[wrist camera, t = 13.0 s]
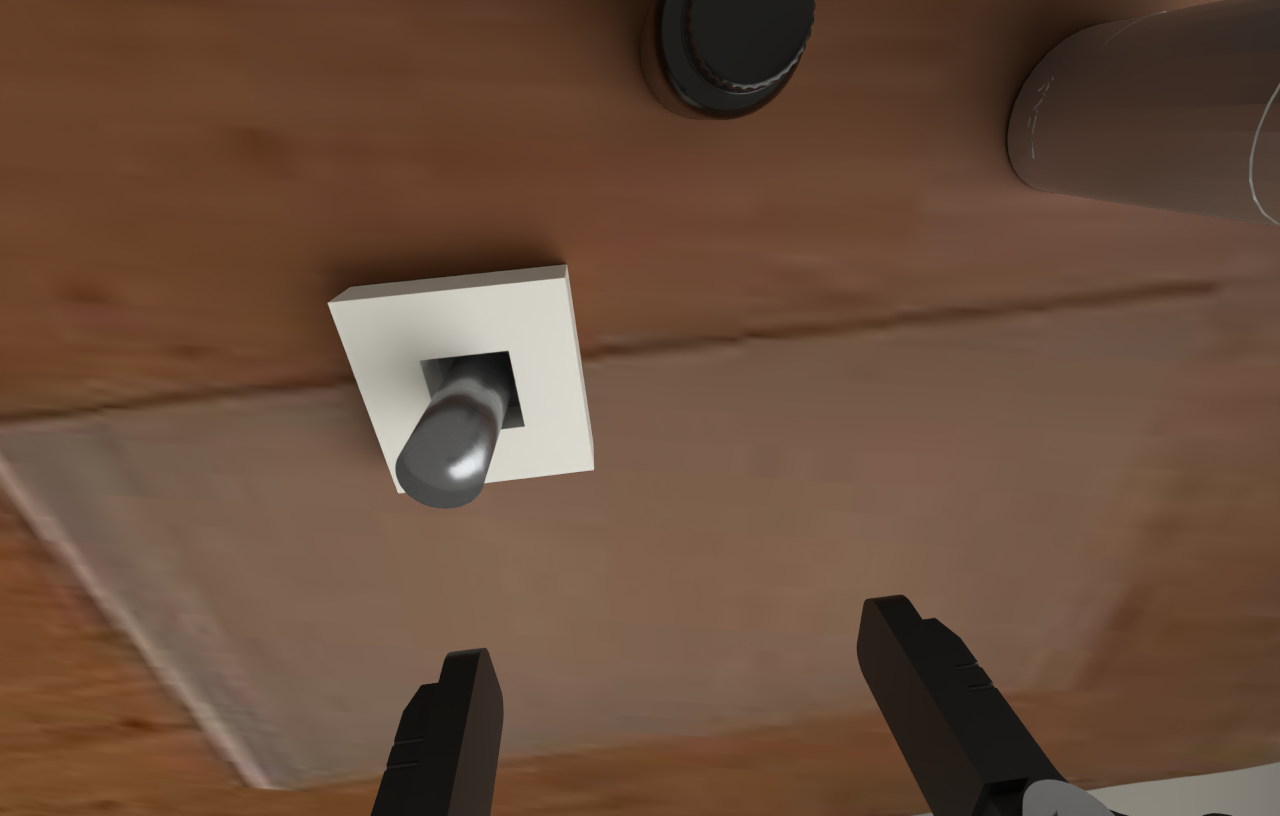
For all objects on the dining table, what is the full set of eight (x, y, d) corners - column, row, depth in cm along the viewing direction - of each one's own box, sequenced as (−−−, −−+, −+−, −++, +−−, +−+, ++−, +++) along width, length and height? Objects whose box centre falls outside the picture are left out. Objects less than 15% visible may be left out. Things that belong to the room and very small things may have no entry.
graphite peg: (510, 342, 37) (474, 434, 26) (520, 399, 39) (491, 504, 28) (446, 347, 37) (384, 442, 26) (460, 404, 39) (408, 511, 28)
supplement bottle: (675, -55, 28) (729, -164, 17) (780, 23, 30) (885, -33, 19) (615, 81, 30) (630, 57, 20) (715, 143, 32) (777, 153, 22)
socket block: (566, 264, 35) (564, 277, 32) (593, 444, 42) (593, 469, 39) (350, 286, 34) (327, 302, 31) (412, 465, 41) (398, 493, 38)
